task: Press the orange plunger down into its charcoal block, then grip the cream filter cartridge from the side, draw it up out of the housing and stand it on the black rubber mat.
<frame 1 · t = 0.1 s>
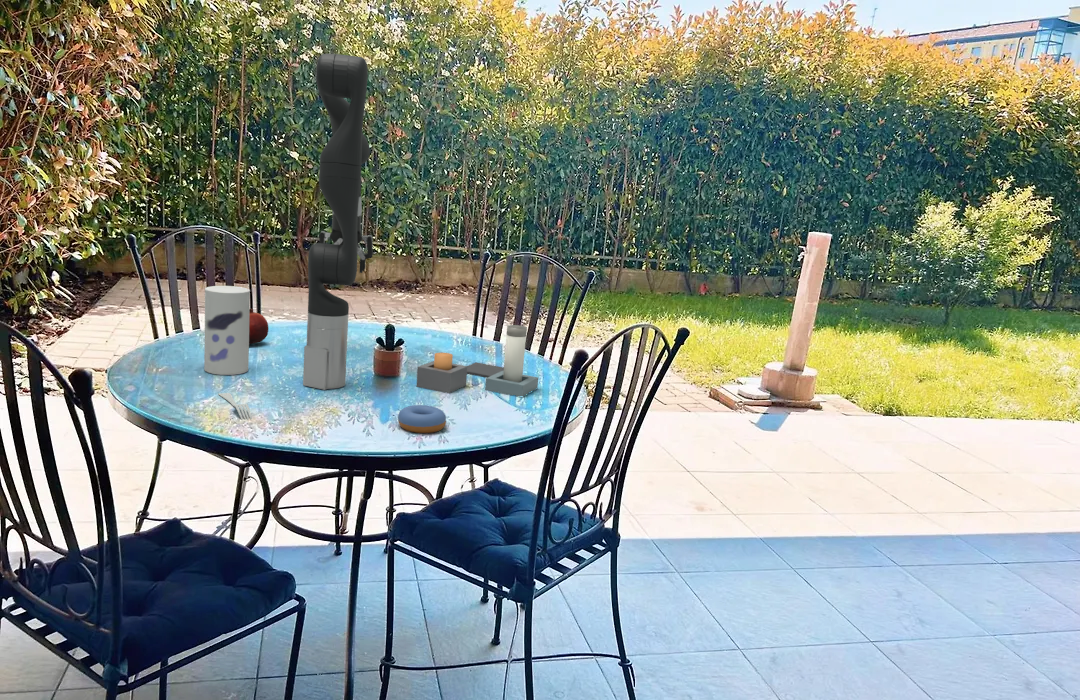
hand: (345, 271, 229), 22 cm above the table, tool pointing down, fingers open, 8 cm apart
mat: (485, 371, 225), on the table
cartridge: (514, 358, 208), in the housing
container: (226, 371, 203), on the table
fruit: (247, 344, 231), on the table
housing: (511, 389, 210), on the table
plunger: (442, 366, 205), point 5 cm above the table, slide at 0.0 cm
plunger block: (441, 386, 207), on the table
doughnut: (421, 428, 174), on the table
fork: (234, 408, 176), on the table
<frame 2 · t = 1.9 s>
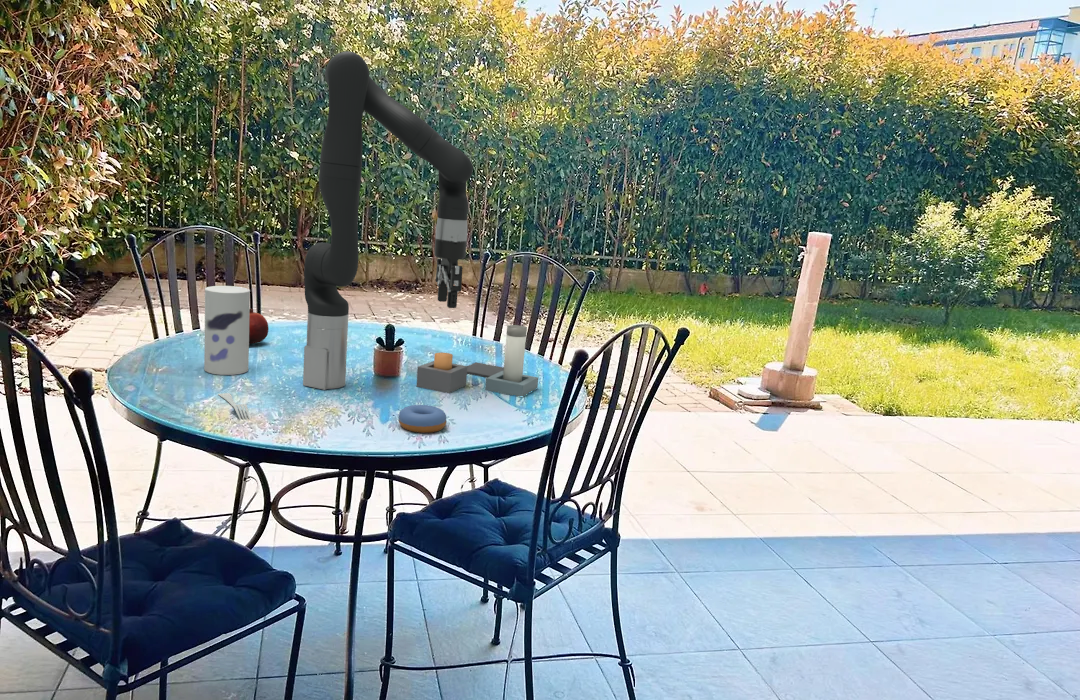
hand: (446, 304, 204), 20 cm above the table, tool pointing down, fingers open, 8 cm apart
nothing on the table moved.
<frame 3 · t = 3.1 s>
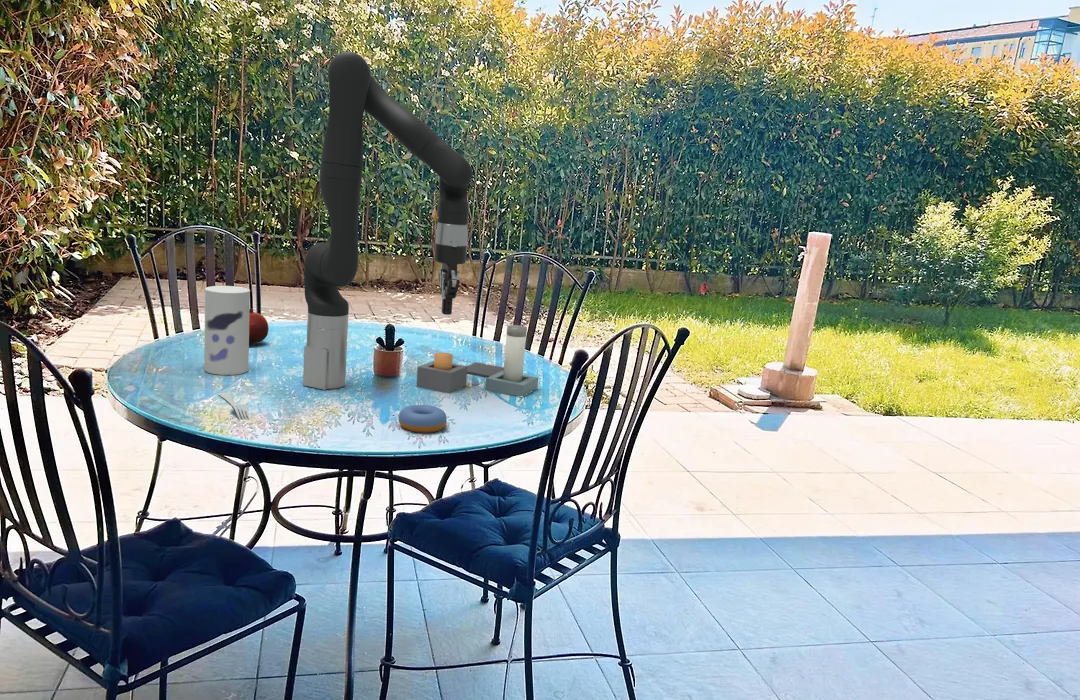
hand: (446, 314, 203), 18 cm above the table, tool pointing down, fingers closed
nothing on the table moved.
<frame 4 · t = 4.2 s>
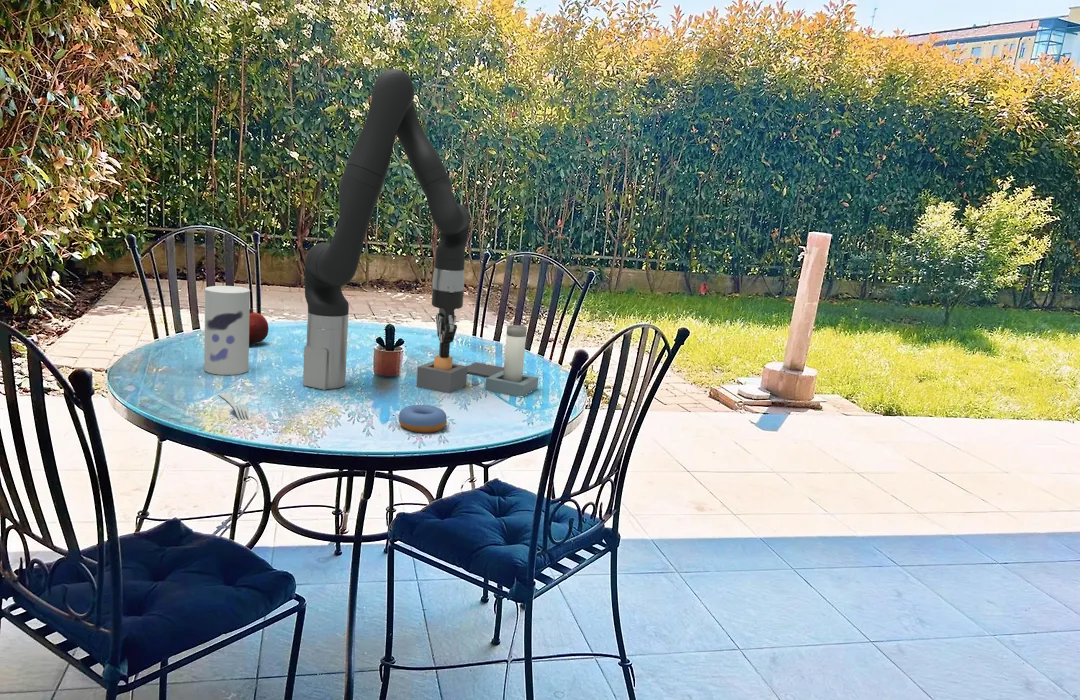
hand: (444, 357, 206), 7 cm above the table, tool pointing down, fingers closed
plunger: (442, 369, 206), point 4 cm above the table, slide at 0.8 cm, touching gripper
everything else where it was.
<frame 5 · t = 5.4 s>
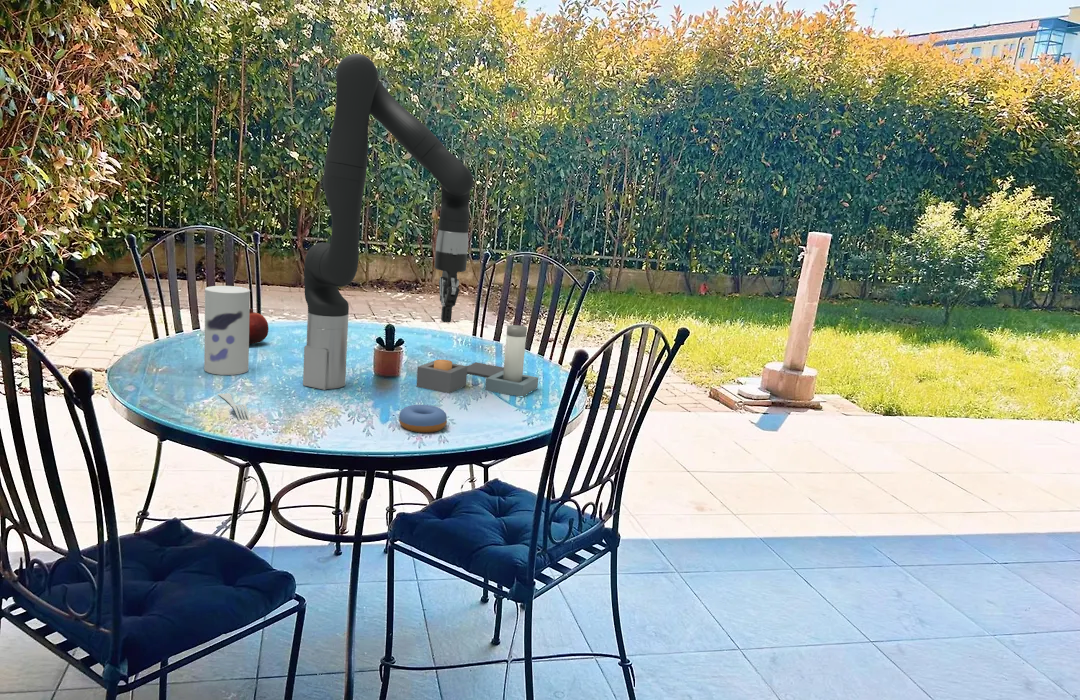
hand: (445, 321, 203), 16 cm above the table, tool pointing down, fingers closed
plunger: (442, 373, 206), point 3 cm above the table, slide at 1.8 cm
everything else where it was.
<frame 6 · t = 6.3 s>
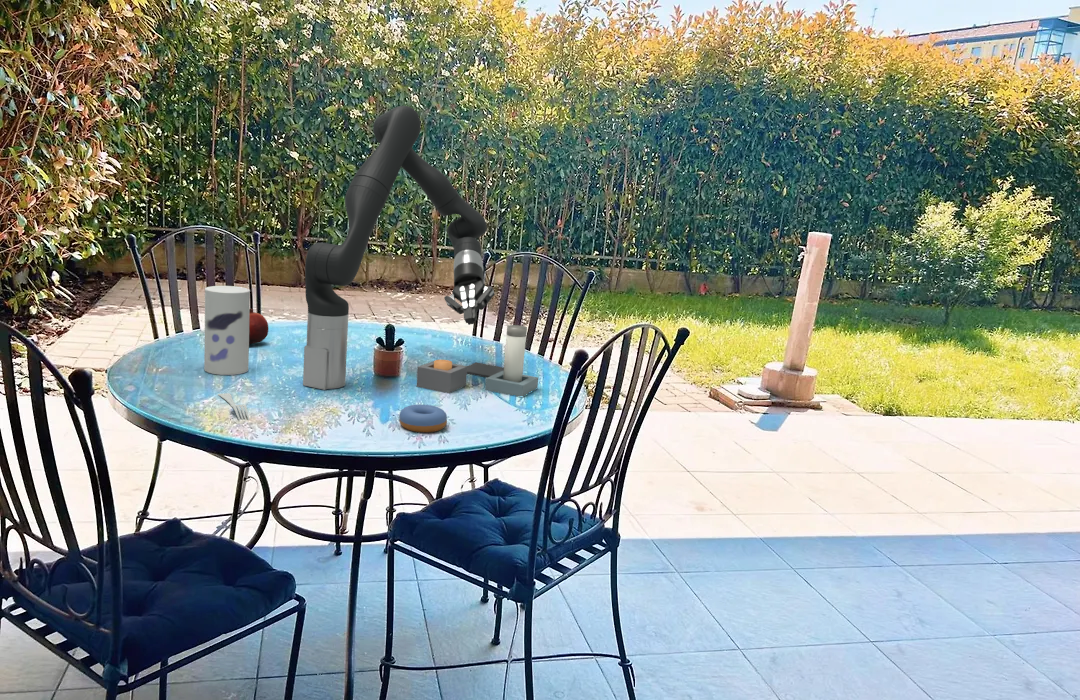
hand: (470, 322, 202), 17 cm above the table, tool tilted 55°, fingers closed
nothing on the table moved.
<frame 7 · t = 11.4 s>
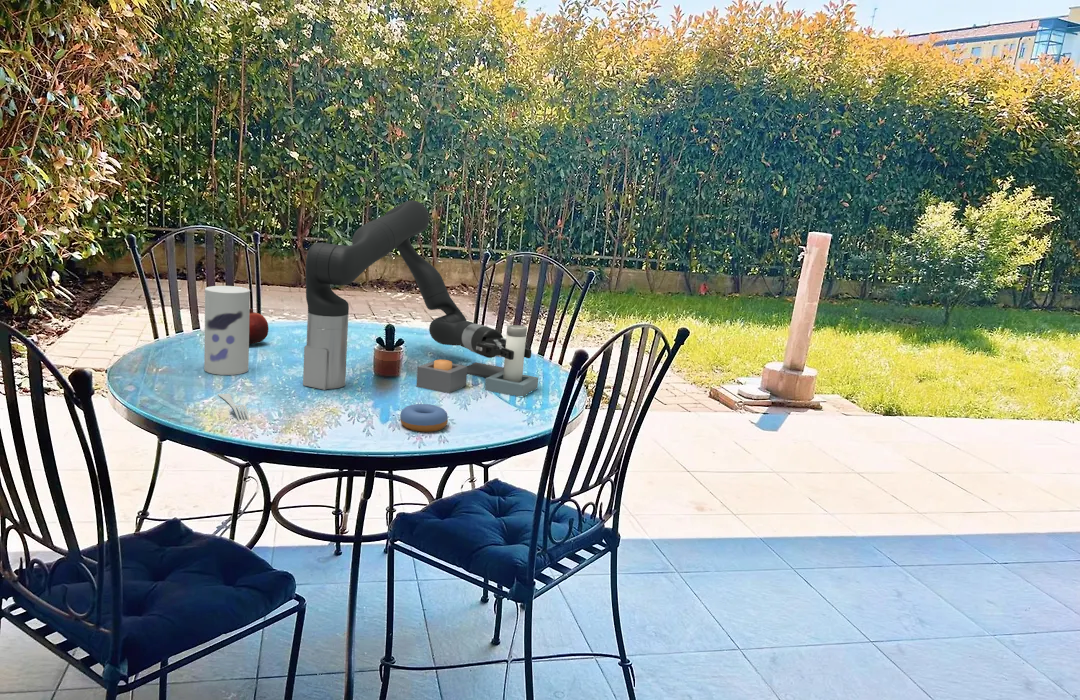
hand: (521, 354, 206), 10 cm above the table, tool horizontal, fingers closed on cartridge, 4 cm apart
cartridge: (514, 358, 208), in the housing, touching gripper
everything else where it was.
when the fingers open (11 cm above the table, at t = 16.0 s): cartridge drops 1 cm, resting on mat.
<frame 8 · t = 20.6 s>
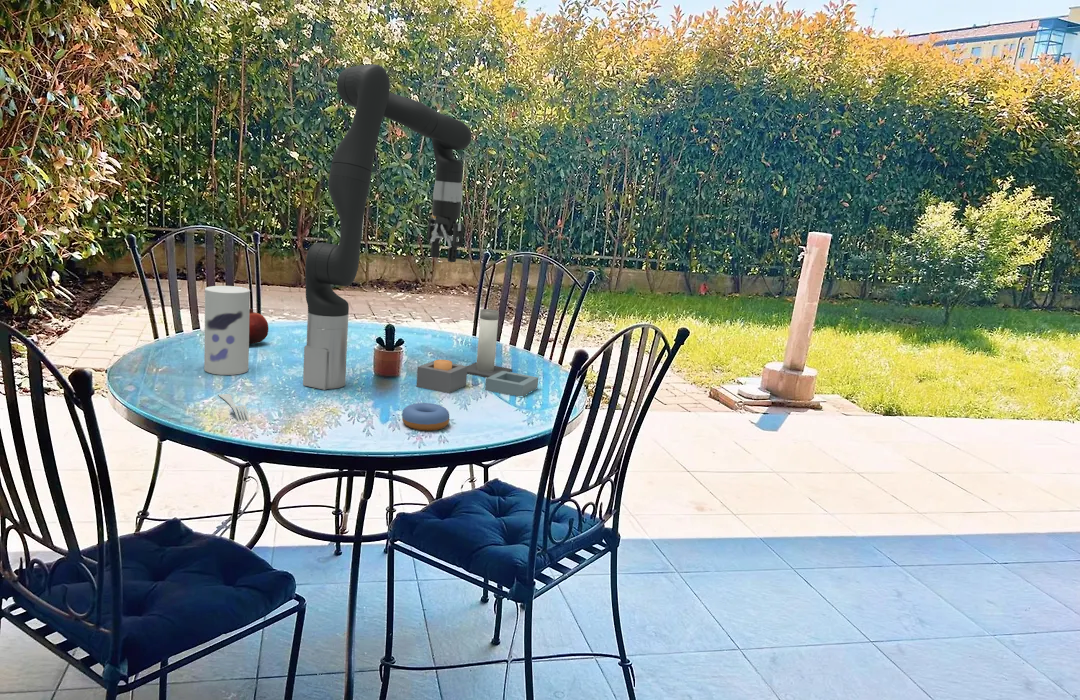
hand: (443, 259, 226), 28 cm above the table, tool pointing down, fingers open, 8 cm apart
cartridge: (487, 340, 223), on the mat, point 9 cm above the table
at the end: cartridge inside the target area on the mat (0.1 cm from its centre), point 8.6 cm above the mat's base; cartridge tilted 0°; plunger slide at 1.8 cm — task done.
